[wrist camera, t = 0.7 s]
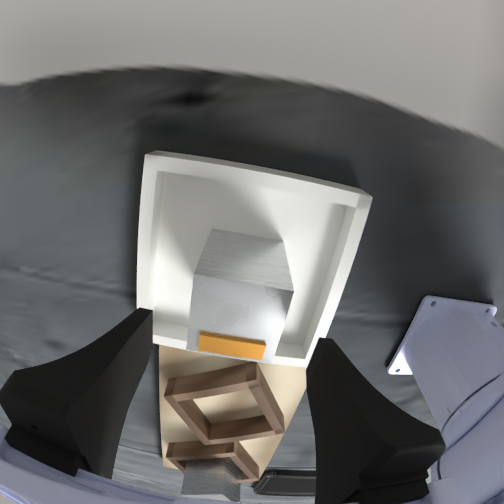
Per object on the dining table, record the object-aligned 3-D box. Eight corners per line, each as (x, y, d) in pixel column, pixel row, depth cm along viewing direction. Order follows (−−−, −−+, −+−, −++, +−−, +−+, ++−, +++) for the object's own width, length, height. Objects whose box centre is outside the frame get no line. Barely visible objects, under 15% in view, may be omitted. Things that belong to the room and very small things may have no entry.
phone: (268, 473, 31) (371, 474, 32) (267, 466, 32) (369, 468, 33) (251, 494, 34) (344, 495, 35) (251, 487, 35) (344, 490, 36)
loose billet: (283, 240, 19) (294, 293, 13) (268, 301, 21) (272, 366, 15) (211, 228, 19) (192, 275, 13) (203, 290, 20) (185, 352, 15)
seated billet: (226, 445, 28) (222, 495, 22) (241, 462, 29) (239, 508, 23) (188, 449, 28) (180, 496, 22) (206, 466, 30) (200, 509, 24)
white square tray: (360, 189, 18) (372, 197, 16) (308, 348, 23) (312, 368, 21) (157, 150, 17) (145, 154, 15) (146, 321, 22) (137, 339, 20)
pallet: (314, 356, 23) (320, 383, 21) (259, 473, 32) (258, 492, 29) (162, 332, 23) (152, 357, 20) (164, 459, 31) (160, 478, 29)
